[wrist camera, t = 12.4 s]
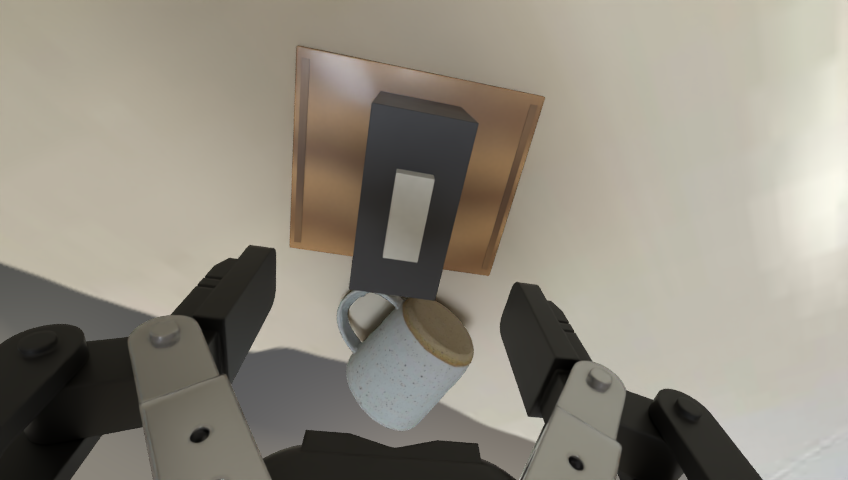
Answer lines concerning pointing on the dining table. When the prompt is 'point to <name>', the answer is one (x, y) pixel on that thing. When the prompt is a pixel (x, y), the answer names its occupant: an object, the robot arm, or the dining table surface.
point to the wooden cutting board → (346, 146)
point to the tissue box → (409, 194)
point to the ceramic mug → (405, 359)
